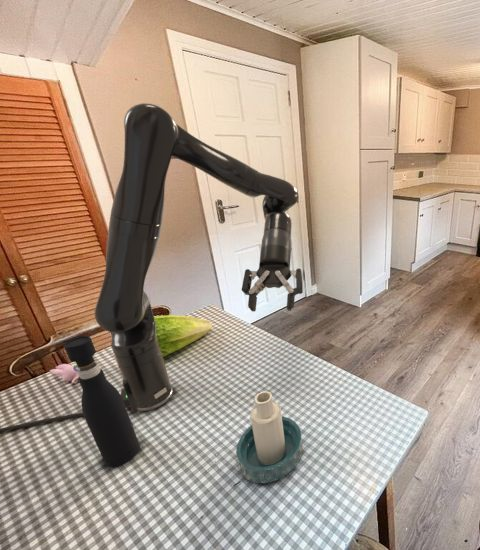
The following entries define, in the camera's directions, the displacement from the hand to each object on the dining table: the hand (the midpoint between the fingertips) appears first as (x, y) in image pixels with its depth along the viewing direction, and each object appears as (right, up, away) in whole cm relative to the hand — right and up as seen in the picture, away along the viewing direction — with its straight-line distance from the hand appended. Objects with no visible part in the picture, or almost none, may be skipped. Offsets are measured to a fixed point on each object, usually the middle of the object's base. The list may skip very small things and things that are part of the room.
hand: (271, 310), depth 72 cm
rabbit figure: (-64, -23, +19) cm, 71 cm away
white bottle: (+2, -32, -4) cm, 32 cm away
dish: (+1, -32, -4) cm, 33 cm away
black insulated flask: (-32, -32, -4) cm, 46 cm away
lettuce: (-43, -17, +36) cm, 58 cm away
